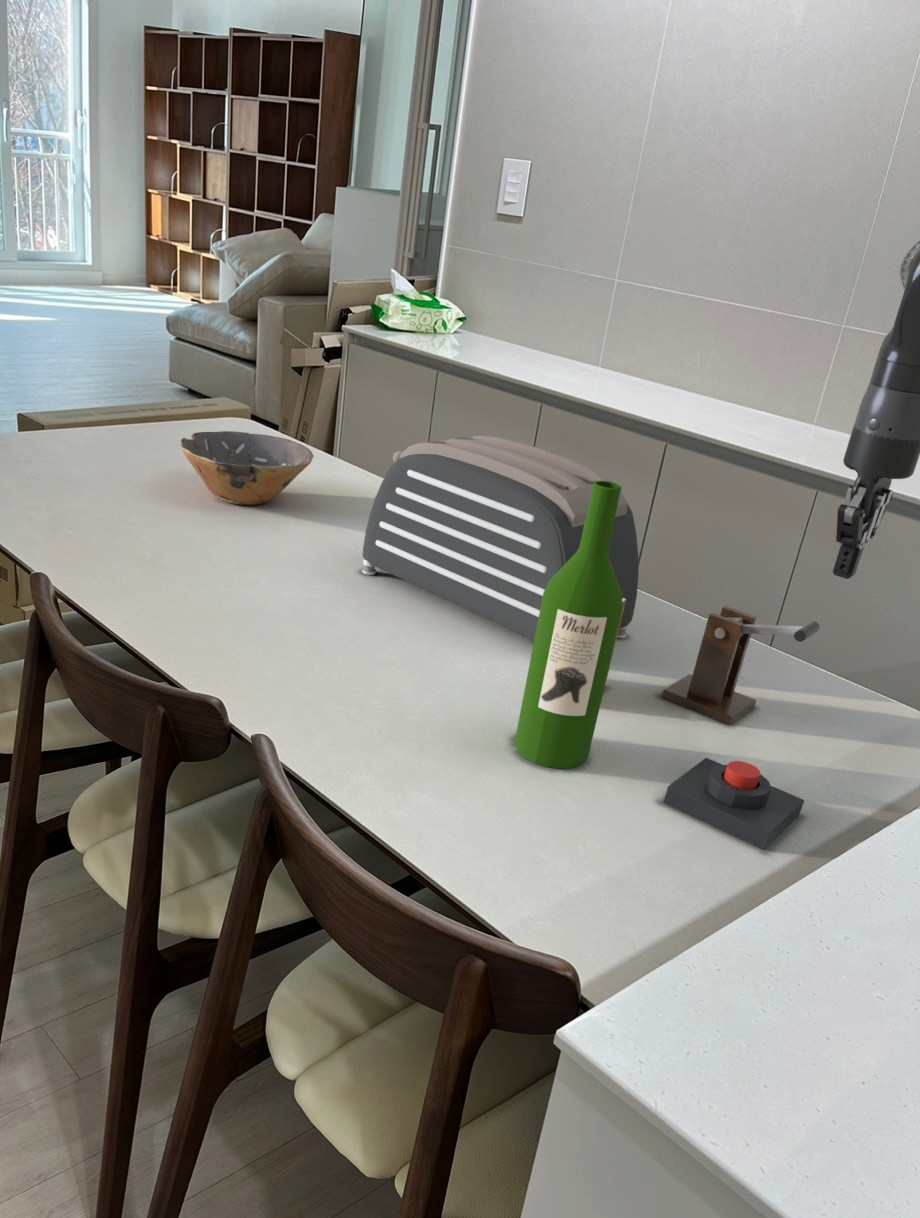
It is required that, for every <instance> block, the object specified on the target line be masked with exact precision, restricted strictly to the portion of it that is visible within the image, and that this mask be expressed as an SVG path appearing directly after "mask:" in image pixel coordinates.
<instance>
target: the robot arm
mask: <svg viewBox="0 0 920 1218" xmlns="http://www.w3.org/2000/svg"><path fill="white" fill-rule="evenodd" d="M899 282H900V285H901V287H902V289H903V294H902V298H901V301H900V304H899V306H898V310H897V313H896V315H895V319H894V323H893V325H892V328H891V329H890V331H888V333H886V335H885V337H884V338H883V339H882V342H881V345H880V347H879V350H878V353H877V357H876V358H875V359H876V360H875V363H874V366H873V370H872V373H871V376H870V379H869V382H868V385H867V387H866V390H865V393H863V394H864V395H863V397H862V398H861V401H860V404H859V407H858V411H857V414H856V417H855V421H854V424H853V427H852V430H851V434H850V436H849V440H848V444H847V447H846V450H845V453H844V457H843V460H842V462H843V465H844V466H845V467H846V468H847V469H849V470H852V471H855V472H856V474H857V477H856V478H855V481H854V482H853V484H850V485H849V486H848V488H847V490H846V494H845V499H844V501H845V504H843V503H841V504H840V505H839V506H838V508H837V517H836V518H837V519H836V534H835V535H836V537H835V542H837V543H839V545H840V547H839V550H838V553H837V557H836V560H835V563H834V566H833V569H832V574H833V575H834V576H836V577H839V578H841V579H842V578H843V579H846V580H848V579H851V578H852V577H854V576H855V575H856V573H857V569H858V566H859V563H860V561H861V557H862V555H863V551H864V547H867V545H868V544H869V542H870V539H873V537H875V535H876V532H877V530H878V528H879V526H880V524H881V522H882V520H883V518H884V516H885V514H886V513H887V511H888V507H890V504H891V502H892V501H893V499H894V493H893V489H890V488H891V484H892V481H893V480H905V479H908V478H911V477H912V476H913V475H914V473H915V471H916V467H917V464H918V461H919V459H920V239H918V241H916V242H915V243H913V245H912V246H911V247H910V248H909V249H908V250H907V251H906V253H905V255H904V256H903V258H902V259H901V264H900V267H899Z"/></svg>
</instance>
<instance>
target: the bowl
mask: <svg viewBox="0 0 920 1218" xmlns="http://www.w3.org/2000/svg"><path fill="white" fill-rule="evenodd" d="M179 447H180V449H181V452H183V454H184V456H185V457H186V459H187V460H188V461H189V463H190V465H191V466H192V468H193V469H194V470H195V472H196V474H197V475H198V476H199V477H200V479H201V480H202V481H203V483H204V484H205V486H206V488H207V489H208V490H209V491H210V492H211V493H212V495H213V496H215V497H216V498H217V499H219V500H221V501H222V502H225V503H228V504H229V503H230V504H233V505H241V506H246V505H248V506H258V505H262V504H265V503H267V502H268V501H271V500H273V499H274V498H276V497H277V496H279V494H281V493H282V492H283V490H285V488H287V486H289V485H290V484H291V483H292V482H293V481H294V480H295V479H296V478H297V477H298V476H299V475H300V474H301V473H302V472H303V471H304V470H305V469H306V468H307V467H308V466H309V465H310V464H311V463H312V462H313V459H314V454H313V452H312V450H311V449H309V448H308V447H307V446H306V445H304V444H302V443H299V442H298V441H293V440H291V439H288V438H283V437H279V436H273V435H269V434H260V433H250V432H245V431H235V430H232V431H231V430H229V431H228V430H223V431H221V430H219V431H199V432H194V433H192V434H191V435H190V438H186V437H182V438H181V439H180V441H179Z"/></svg>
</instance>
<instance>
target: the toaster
mask: <svg viewBox="0 0 920 1218" xmlns="http://www.w3.org/2000/svg"><path fill="white" fill-rule="evenodd" d="M392 461H393V463H392V465H391V466H389V468H388V470H387V471H386V474H385V476H384V478H383V480H382V482H381V483H380V486H379V489H378V490H377V493H376V495H375V497H374V501H373V503H372V505H371V509H370V513H369V515H368V519H367V524H366V528H365V533H364V540H363V546H362V558H363V562H362V564H363V565H364V567H363V568H362V573H363V574H365V575H368V576H373V575H376V573H377V569H379V570H381V571H384V572H386V573H388V574H389V575H390V574H391V575H393V576H394V577H397V578H399V579H401V580H403V581H405V582H407V583H410V584H412V585H414V586H417V587H419V588H421V589H423V590H425V591H428V592H429V593H432V594H434V595H436V596H438V597H440V598H443V599H445V600H447V601H450V602H451V603H454V604H455V605H458V606H459V607H462V608H464V609H467V610H469V611H471V612H473V613H475V614H477V615H480V616H481V617H484V618H486V619H488V620H491V621H492V622H495V623H497V624H499V625H500V626H504V627H506V628H508V629H510V630H512V631H514V632H517V633H519V634H521V635H523V636H525V637H527V638H529V639H532V640H534V639H535V634H536V629H537V623H538V618H539V613H540V608H541V603H542V598H543V593H544V591H545V588H546V586H547V584H548V582H549V580H550V579H551V578H552V577H553V576H554V575H555V574H556V573H557V572H558V571H559V570H560V569H561V568H562V567H563V566H564V565H565V564H566V563H567V562H568V561H569V559H570V558H571V557H572V556H573V555H574V554H575V553H576V552H577V550H578V549H579V547H580V542H581V538H582V533H583V529H584V524H585V520H586V515H587V511H588V507H589V502H590V498H591V493H592V489H593V483H594V482H596V481H609V482H613V481H612V480H611V479H609V478H608V477H606V476H605V475H603V474H601V473H600V472H599V471H597V470H595V469H594V468H592V467H590V466H589V465H585V464H584V463H583V464H582V463H581V462H578V461H575V460H573V459H571V458H569V457H566V456H563V455H561V454H557V453H554V452H552V451H549V450H546V449H543V448H540V447H537V446H533V445H529V444H526V443H523V442H519V441H515V440H513V439H508V438H503V437H499V436H495V435H494V436H493V435H469V436H460V437H455V438H450V439H442V440H431V441H426V442H425V441H424V442H418V443H415V444H412V445H409V446H408V447H407V448H405V450H404V451H403V450H398V451H395V452H394V453H393V455H392ZM637 535H638V534H637V530H636V524H635V519H634V513H633V511H632V509H631V507H630V505H629V503H628V501H627V498H626V497H625V496H624V494H623V492H622V490H621V491H620V496H619V501H618V506H617V511H616V516H615V520H614V525H613V530H612V535H611V540H610V545H609V550H608V556H609V560H610V563H611V565H612V568H613V570H614V573H615V576H616V578H617V581H618V583H619V586H620V589H621V591H622V598H624V599H626V602H625V606H624V610H623V615H622V619H621V623H620V627H619V631H618V635H617V639H618V638H620V639H624V638H626V637H627V632H626V630H627V629H629V625H630V624H631V622H632V621H633V617H634V614H635V608H636V602H637V597H638V585H639V576H640V575H639V573H640V572H639V548H638V538H637ZM376 568H377V569H376Z"/></svg>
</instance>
